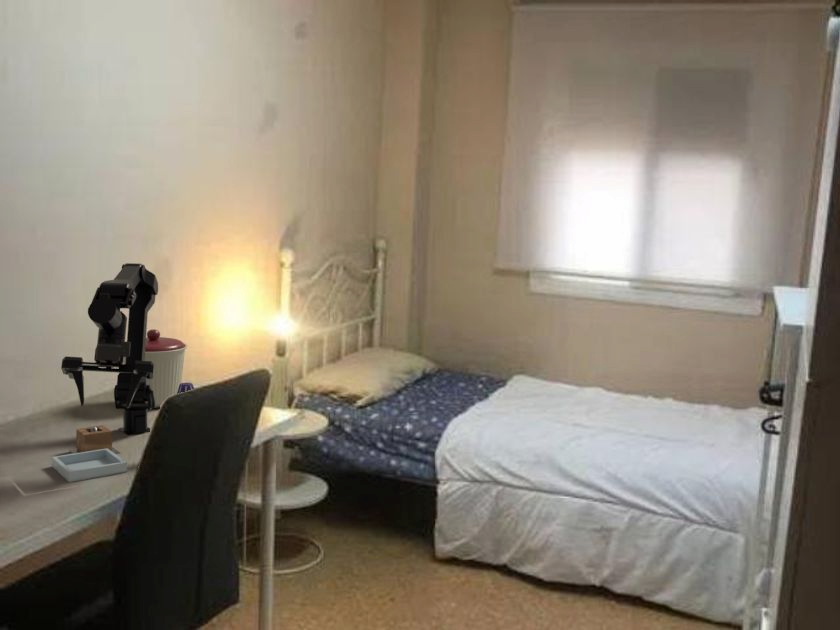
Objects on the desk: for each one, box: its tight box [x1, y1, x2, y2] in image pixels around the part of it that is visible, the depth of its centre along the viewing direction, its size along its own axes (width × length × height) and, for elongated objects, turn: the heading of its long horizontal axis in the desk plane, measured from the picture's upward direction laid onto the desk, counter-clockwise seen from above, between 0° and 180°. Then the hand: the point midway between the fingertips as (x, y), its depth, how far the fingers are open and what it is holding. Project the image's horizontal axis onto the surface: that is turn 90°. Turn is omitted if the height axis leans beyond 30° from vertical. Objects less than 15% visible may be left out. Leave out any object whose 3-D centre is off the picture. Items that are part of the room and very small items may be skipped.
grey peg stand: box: [67, 426, 121, 455], centre depth 202 cm, size 9×9×6 cm
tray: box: [51, 448, 128, 483], centre depth 190 cm, size 12×12×2 cm
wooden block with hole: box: [75, 424, 113, 453], centre depth 203 cm, size 8×6×5 cm
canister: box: [123, 329, 188, 409], centre depth 247 cm, size 18×18×21 cm
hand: (105, 406), depth 190 cm, fingers open, 9 cm apart
